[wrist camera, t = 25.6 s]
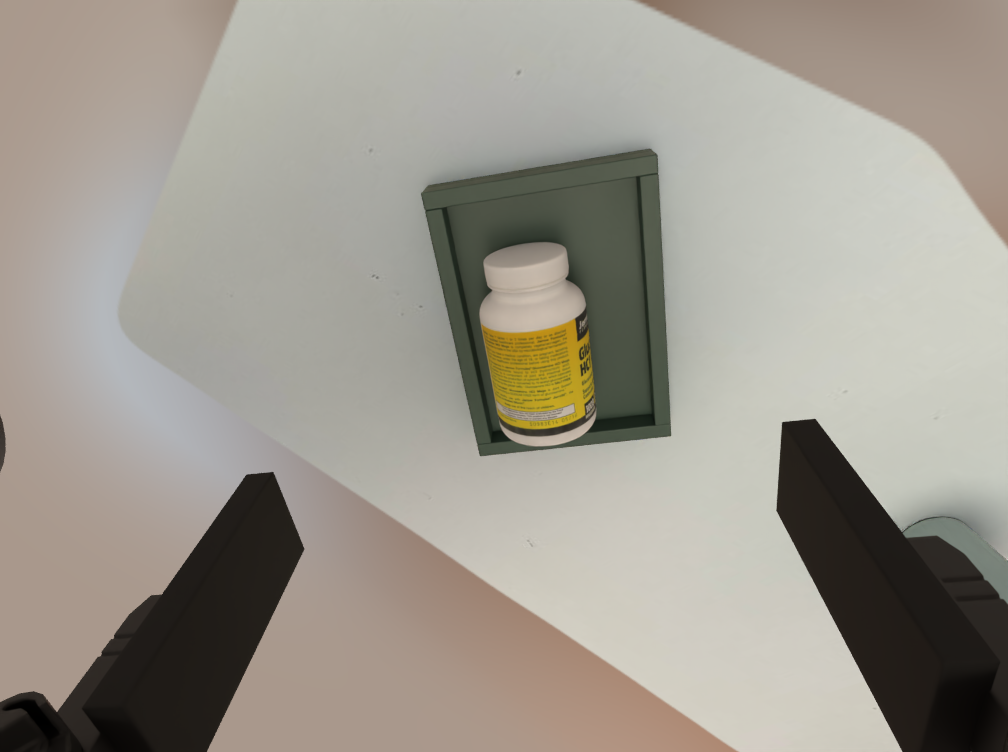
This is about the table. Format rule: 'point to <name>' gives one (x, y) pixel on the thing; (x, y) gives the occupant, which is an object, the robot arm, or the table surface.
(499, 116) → the table surface
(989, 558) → the cup
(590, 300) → the tray
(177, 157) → the table surface
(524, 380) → the pill bottle
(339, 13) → the table surface
